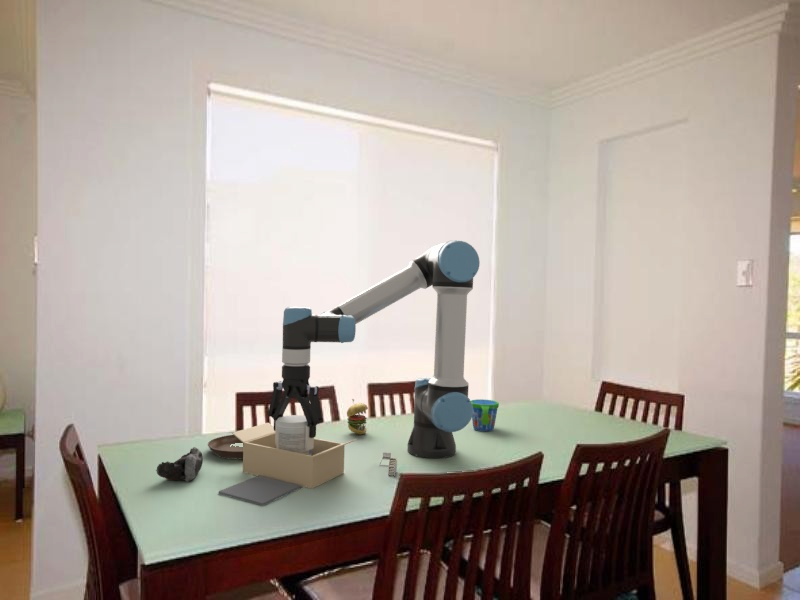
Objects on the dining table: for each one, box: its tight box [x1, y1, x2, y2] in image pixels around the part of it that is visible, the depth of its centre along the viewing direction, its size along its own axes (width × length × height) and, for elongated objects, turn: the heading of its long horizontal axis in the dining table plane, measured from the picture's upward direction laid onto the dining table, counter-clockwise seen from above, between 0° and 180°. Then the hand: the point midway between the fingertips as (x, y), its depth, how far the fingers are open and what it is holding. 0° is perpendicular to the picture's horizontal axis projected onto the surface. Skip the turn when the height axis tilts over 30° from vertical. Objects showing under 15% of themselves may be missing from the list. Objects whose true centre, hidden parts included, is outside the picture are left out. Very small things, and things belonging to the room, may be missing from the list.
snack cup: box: [470, 398, 500, 432], centre depth 206 cm, size 16×10×10 cm
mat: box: [218, 475, 302, 507], centre depth 138 cm, size 14×14×1 cm
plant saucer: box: [207, 434, 243, 460], centre depth 171 cm, size 21×21×3 cm
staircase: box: [378, 452, 398, 477], centre depth 153 cm, size 6×4×6 cm, turn 174°
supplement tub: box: [276, 414, 312, 456], centre depth 152 cm, size 10×10×15 cm
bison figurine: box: [155, 446, 204, 483], centre depth 147 cm, size 12×7×10 cm
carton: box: [231, 422, 358, 489], centre depth 152 cm, size 32×14×10 cm, turn 62°
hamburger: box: [346, 398, 368, 435], centre depth 195 cm, size 8×7×12 cm
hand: (294, 446), depth 152 cm, fingers closed on supplement tub, 10 cm apart
